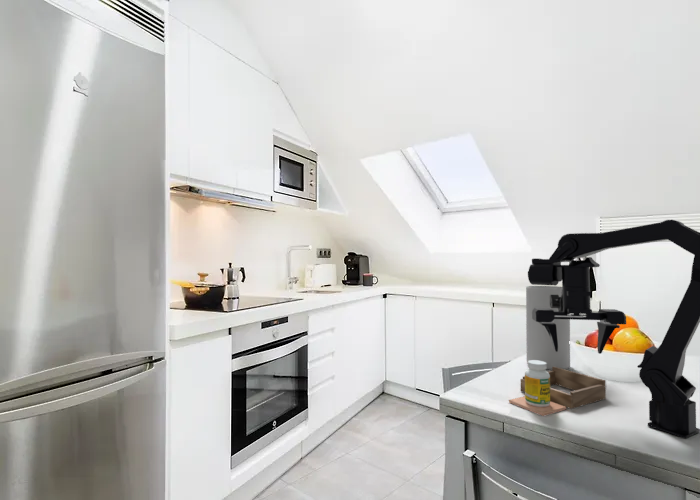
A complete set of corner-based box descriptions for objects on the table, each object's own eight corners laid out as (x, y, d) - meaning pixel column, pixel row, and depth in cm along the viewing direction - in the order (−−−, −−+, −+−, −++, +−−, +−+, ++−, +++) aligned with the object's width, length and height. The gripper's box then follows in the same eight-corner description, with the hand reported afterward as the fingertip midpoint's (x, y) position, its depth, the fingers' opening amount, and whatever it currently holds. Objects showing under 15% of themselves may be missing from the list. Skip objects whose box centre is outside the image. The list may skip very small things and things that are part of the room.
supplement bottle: (533, 397, 95) (533, 357, 95) (555, 404, 91) (554, 363, 91) (520, 402, 92) (519, 361, 92) (541, 409, 88) (541, 366, 88)
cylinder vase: (537, 358, 134) (536, 285, 135) (576, 366, 125) (576, 287, 125) (519, 364, 126) (518, 287, 127) (560, 373, 117) (559, 289, 117)
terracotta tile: (566, 409, 89) (566, 406, 89) (543, 416, 85) (543, 413, 85) (531, 396, 97) (531, 394, 97) (509, 402, 93) (509, 399, 93)
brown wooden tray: (605, 398, 96) (605, 380, 96) (571, 408, 90) (571, 389, 90) (554, 382, 108) (554, 366, 108) (520, 390, 102) (520, 373, 102)
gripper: (607, 284, 99) (609, 346, 98) (527, 284, 103) (528, 343, 103) (626, 287, 88) (628, 357, 87) (535, 287, 93) (537, 353, 92)
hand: (577, 352), depth 93 cm, fingers open, 9 cm apart
